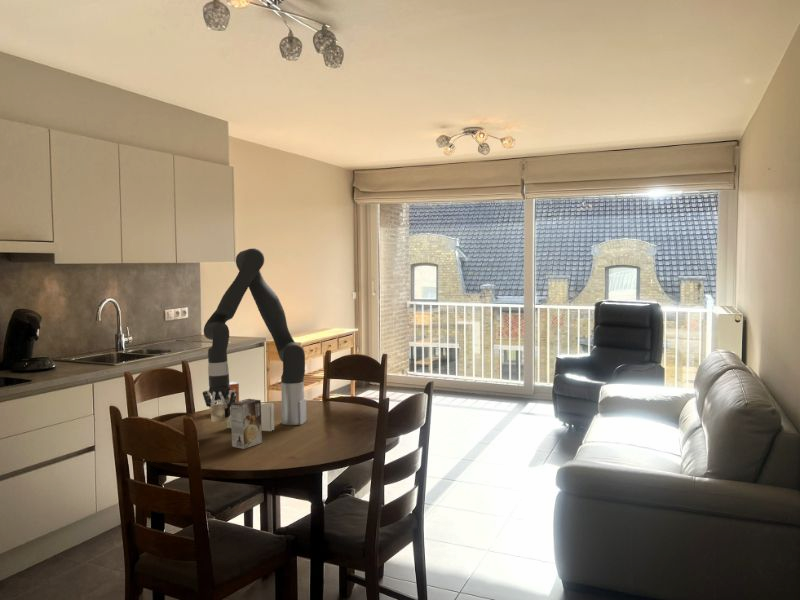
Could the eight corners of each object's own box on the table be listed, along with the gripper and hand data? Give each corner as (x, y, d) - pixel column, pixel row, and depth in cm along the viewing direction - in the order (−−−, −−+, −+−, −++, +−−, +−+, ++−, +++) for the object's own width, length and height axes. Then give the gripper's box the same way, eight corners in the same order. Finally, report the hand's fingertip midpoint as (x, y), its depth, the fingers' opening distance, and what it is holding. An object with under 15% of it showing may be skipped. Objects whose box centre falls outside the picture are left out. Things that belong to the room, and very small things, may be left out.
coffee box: (250, 440, 230) (248, 398, 229) (262, 443, 226) (261, 399, 226) (231, 446, 222) (230, 402, 221) (244, 449, 218) (242, 404, 218)
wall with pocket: (274, 429, 246) (273, 403, 245) (271, 431, 243) (270, 404, 243) (253, 428, 248) (253, 402, 248) (250, 430, 245) (249, 403, 245)
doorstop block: (231, 417, 240) (230, 402, 240) (222, 422, 234) (221, 406, 233) (220, 417, 242) (219, 402, 241) (211, 421, 235) (210, 406, 234)
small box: (221, 414, 274) (221, 385, 274) (217, 411, 280) (216, 383, 279) (239, 411, 279) (239, 383, 278) (235, 409, 284) (234, 381, 284)
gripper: (240, 371, 239) (242, 415, 240) (207, 371, 242) (209, 414, 243) (230, 375, 231) (233, 420, 232) (196, 375, 235) (199, 419, 236)
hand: (221, 417), depth 238 cm, fingers closed on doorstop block, 4 cm apart
